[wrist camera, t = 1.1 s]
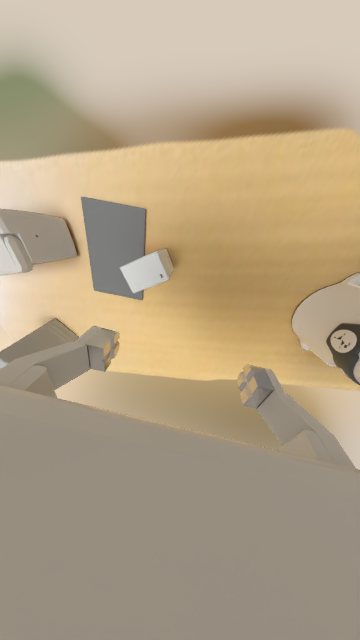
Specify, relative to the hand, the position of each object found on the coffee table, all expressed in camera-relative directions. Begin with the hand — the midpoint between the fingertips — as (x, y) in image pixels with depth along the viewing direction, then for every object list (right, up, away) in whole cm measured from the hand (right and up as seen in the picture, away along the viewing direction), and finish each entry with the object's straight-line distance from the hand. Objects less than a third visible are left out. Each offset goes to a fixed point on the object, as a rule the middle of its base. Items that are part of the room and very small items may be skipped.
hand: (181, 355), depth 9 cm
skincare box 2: (-5, +14, +22) cm, 27 cm away
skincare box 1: (-35, -1, +36) cm, 50 cm away
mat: (-14, +16, +23) cm, 31 cm away
